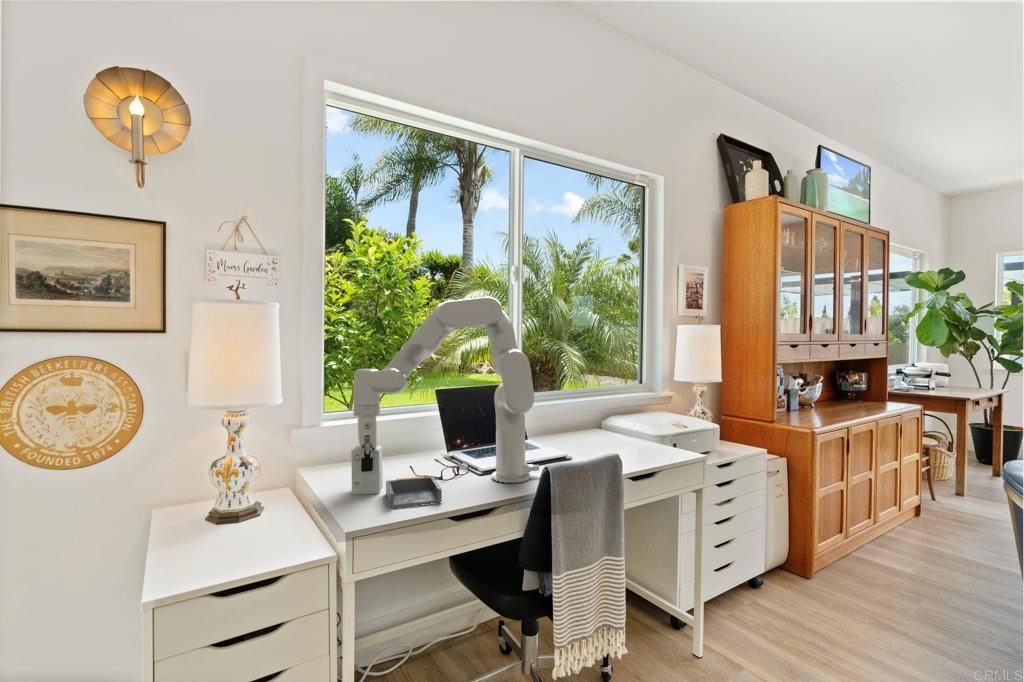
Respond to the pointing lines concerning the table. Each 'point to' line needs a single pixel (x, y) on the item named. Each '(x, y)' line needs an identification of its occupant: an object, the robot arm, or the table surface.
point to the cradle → (413, 491)
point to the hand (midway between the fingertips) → (366, 467)
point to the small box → (366, 473)
